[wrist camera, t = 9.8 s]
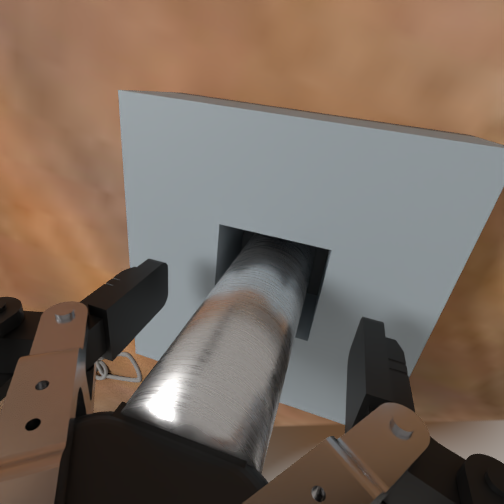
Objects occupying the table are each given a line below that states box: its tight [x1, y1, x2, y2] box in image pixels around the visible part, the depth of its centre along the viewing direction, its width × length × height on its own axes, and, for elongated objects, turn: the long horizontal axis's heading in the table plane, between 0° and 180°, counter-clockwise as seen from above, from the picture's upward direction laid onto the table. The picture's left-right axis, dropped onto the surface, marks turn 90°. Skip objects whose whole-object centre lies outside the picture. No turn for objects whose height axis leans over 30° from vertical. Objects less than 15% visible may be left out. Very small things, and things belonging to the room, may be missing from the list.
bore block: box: [118, 90, 504, 425], centre depth 16 cm, size 14×14×5 cm
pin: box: [120, 233, 316, 473], centre depth 12 cm, size 4×4×12 cm
